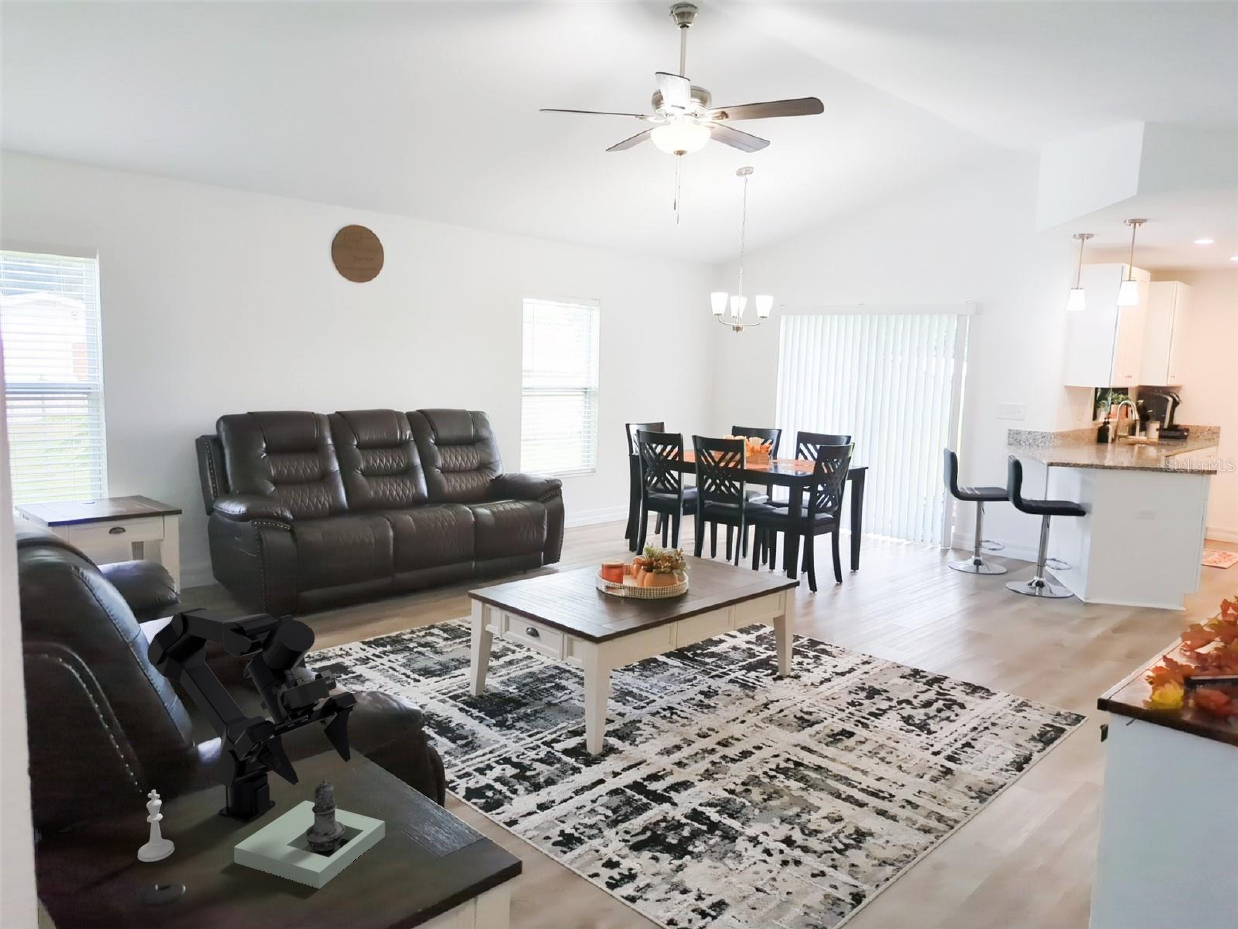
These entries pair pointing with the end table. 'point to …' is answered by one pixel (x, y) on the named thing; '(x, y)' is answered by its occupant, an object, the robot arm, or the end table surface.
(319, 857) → the socket board
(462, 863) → the end table surface
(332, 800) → the grey stone chess bishop
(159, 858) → the chess piece
